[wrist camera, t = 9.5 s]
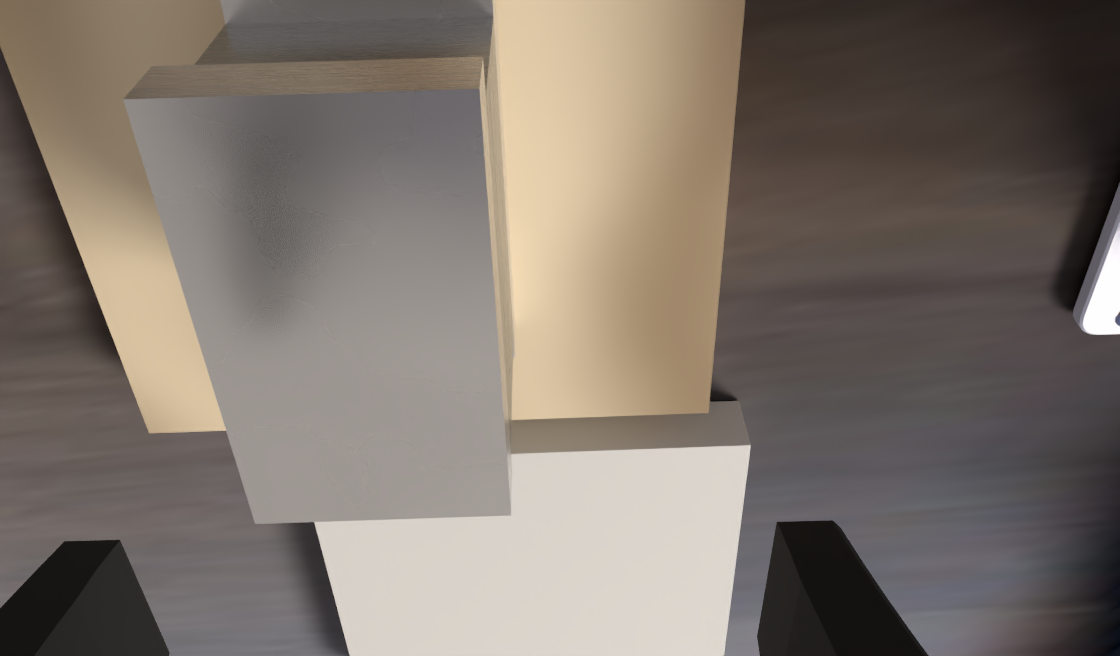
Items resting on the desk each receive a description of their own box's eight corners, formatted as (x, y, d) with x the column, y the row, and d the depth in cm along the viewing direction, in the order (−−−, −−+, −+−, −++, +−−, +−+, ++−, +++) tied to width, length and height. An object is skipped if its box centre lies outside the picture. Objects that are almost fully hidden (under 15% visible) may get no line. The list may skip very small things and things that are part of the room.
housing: (515, 326, 19) (511, 515, 15) (314, 333, 19) (255, 524, 15) (493, -38, 15) (479, 88, 11) (234, -31, 15) (122, 99, 11)
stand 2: (738, 401, 22) (750, 445, 21) (710, 656, 28) (717, 702, 27) (311, 416, 22) (298, 461, 21) (372, 669, 28) (365, 715, 27)
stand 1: (746, -245, 14) (766, -233, 13) (698, 368, 22) (708, 412, 20) (-44, -218, 14) (-97, -205, 13) (171, 387, 21) (149, 433, 20)
